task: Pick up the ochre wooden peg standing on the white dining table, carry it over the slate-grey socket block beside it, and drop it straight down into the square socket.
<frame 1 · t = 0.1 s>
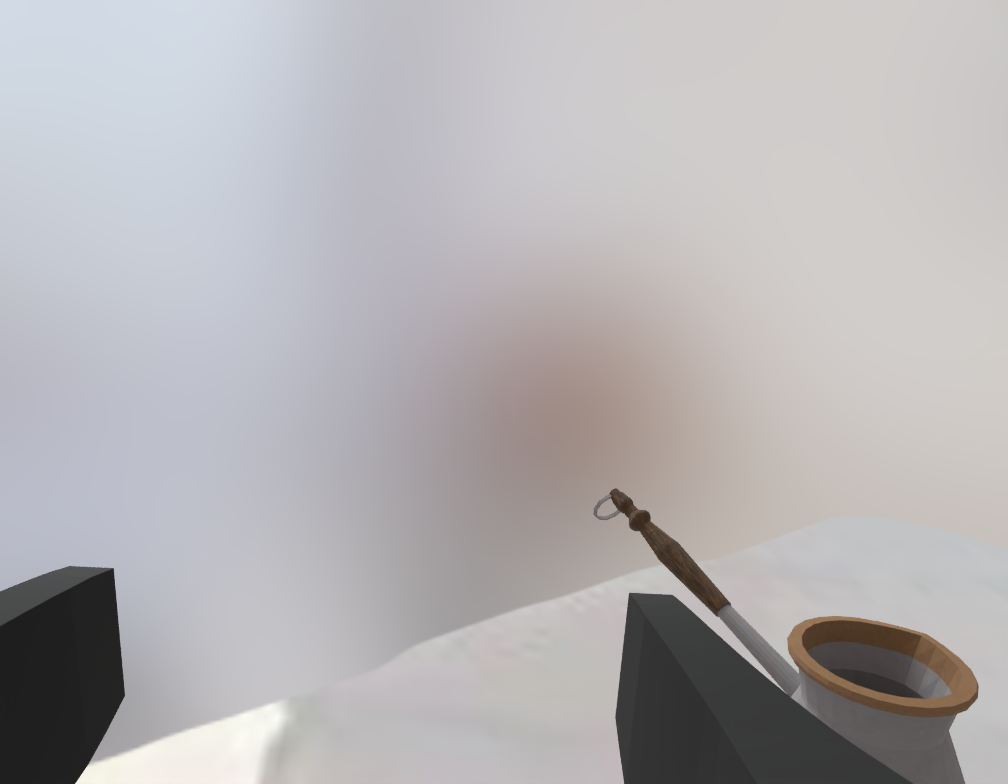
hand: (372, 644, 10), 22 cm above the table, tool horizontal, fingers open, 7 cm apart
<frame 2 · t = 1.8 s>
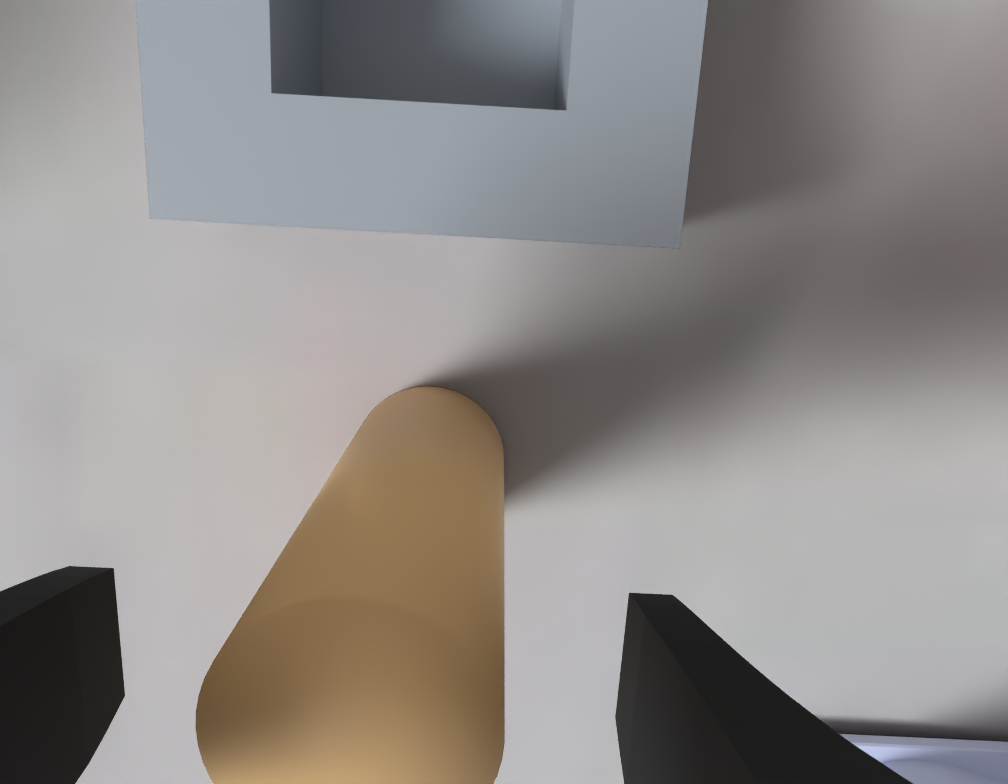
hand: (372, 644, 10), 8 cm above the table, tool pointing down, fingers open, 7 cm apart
peg: (429, 458, 18), on the table
socket block: (443, 2, 15), on the table
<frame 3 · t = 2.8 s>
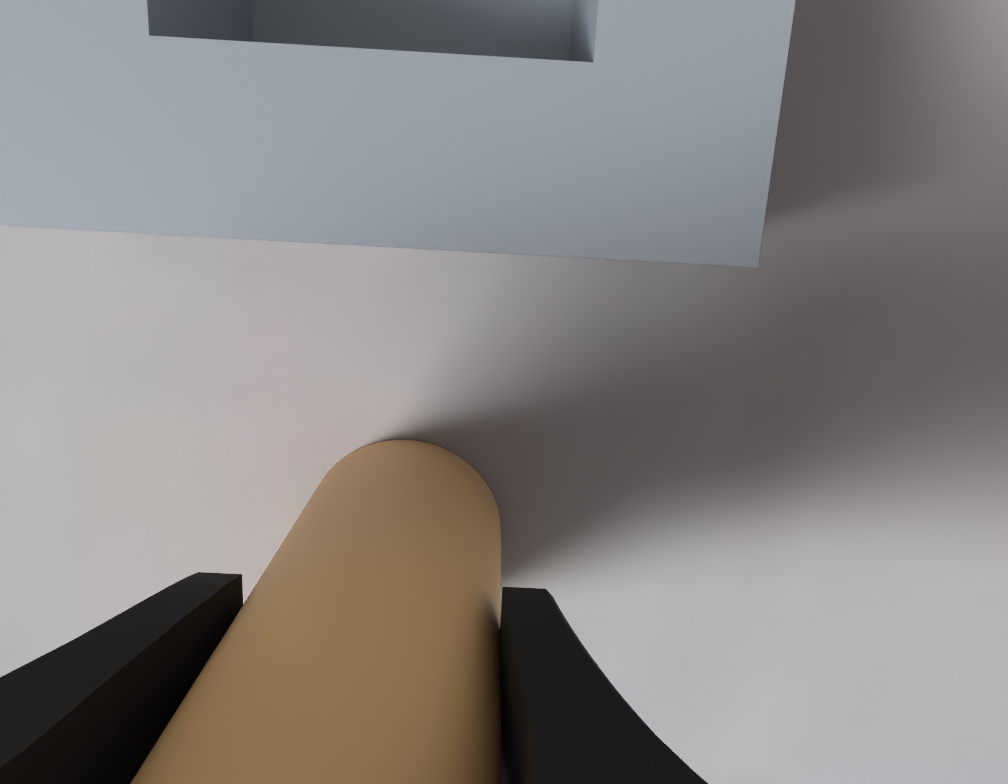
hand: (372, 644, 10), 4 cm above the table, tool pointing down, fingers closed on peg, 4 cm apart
peg: (405, 530, 14), on the table, touching gripper
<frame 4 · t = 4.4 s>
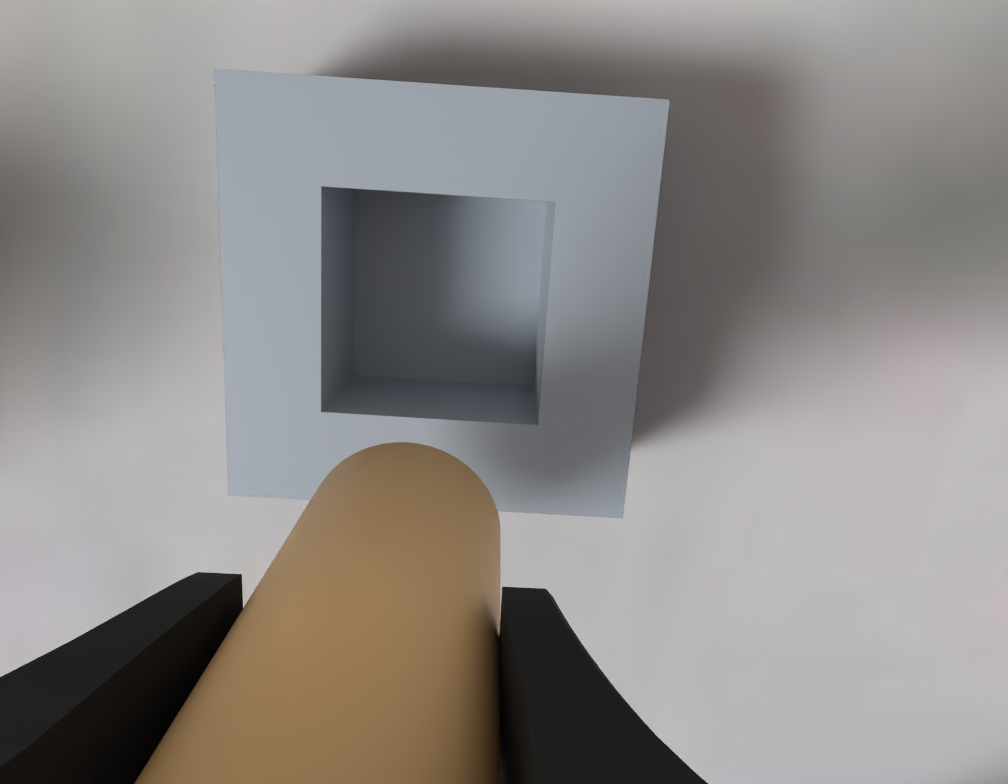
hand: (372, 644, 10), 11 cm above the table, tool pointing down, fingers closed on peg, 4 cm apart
peg: (404, 533, 14), point 7 cm above the table, touching gripper
socket block: (447, 288, 20), on the table
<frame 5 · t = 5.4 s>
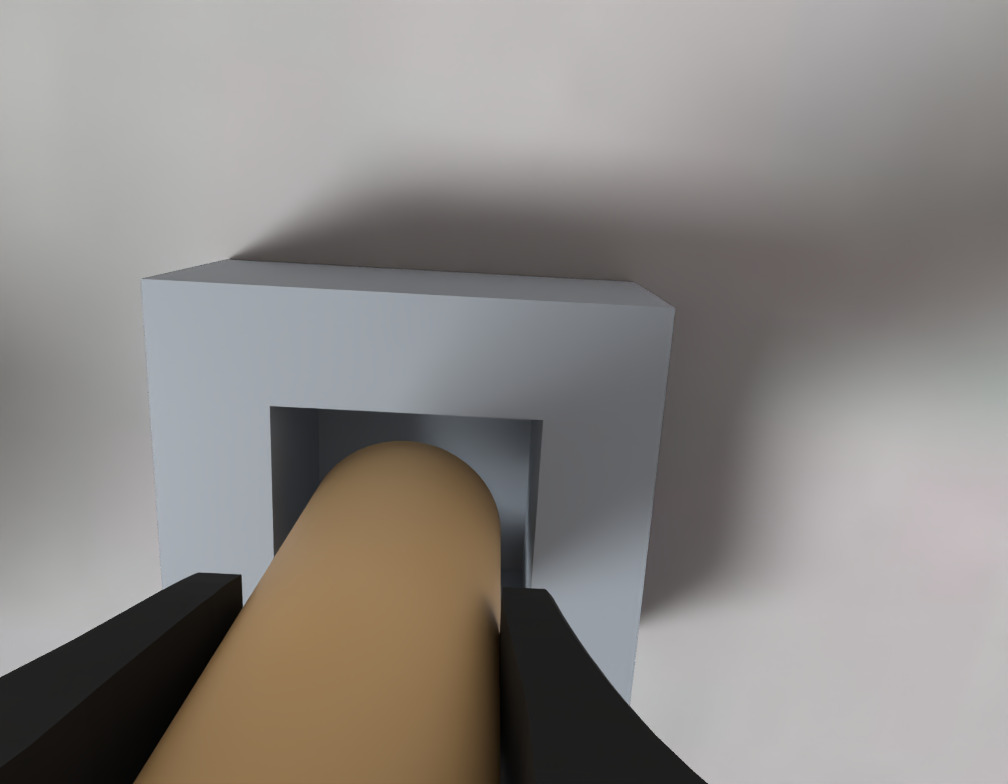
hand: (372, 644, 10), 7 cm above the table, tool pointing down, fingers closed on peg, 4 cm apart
peg: (404, 531, 14), point 4 cm above the table, touching gripper
socket block: (425, 462, 17), on the table
when the fingers open (5 cm above the table, at t = 6.3 s): peg stays where it is, resting on socket block.
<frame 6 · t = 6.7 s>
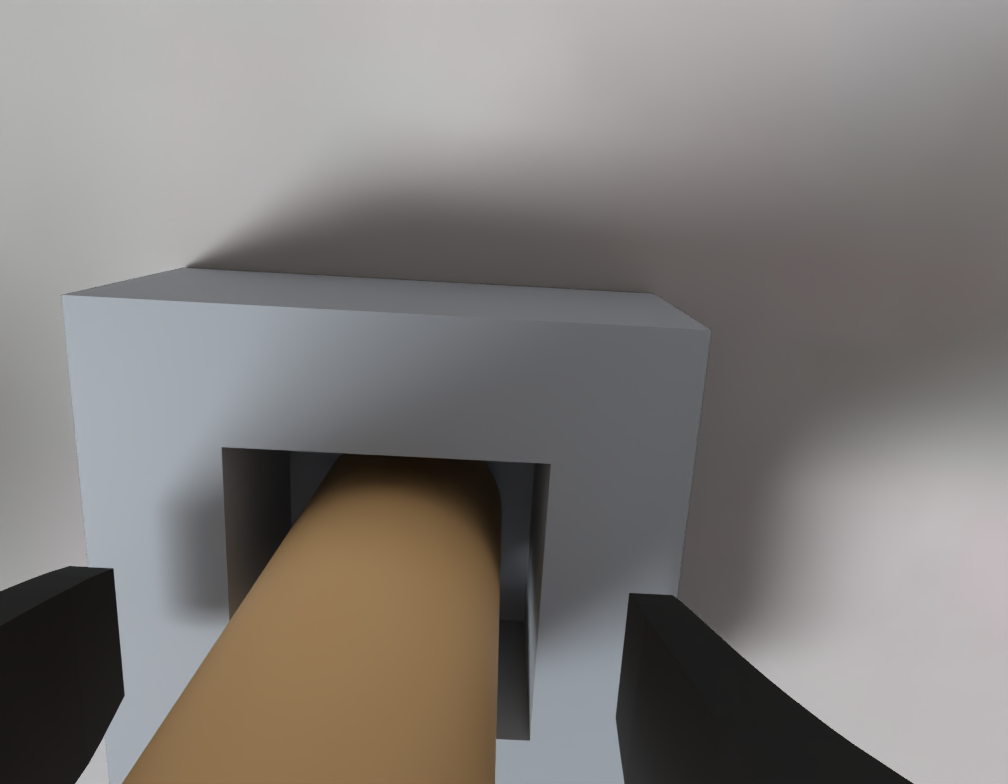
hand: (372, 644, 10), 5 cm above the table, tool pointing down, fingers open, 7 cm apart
peg: (411, 510, 15), point 1 cm above the table, touching socket block
socket block: (414, 499, 15), on the table
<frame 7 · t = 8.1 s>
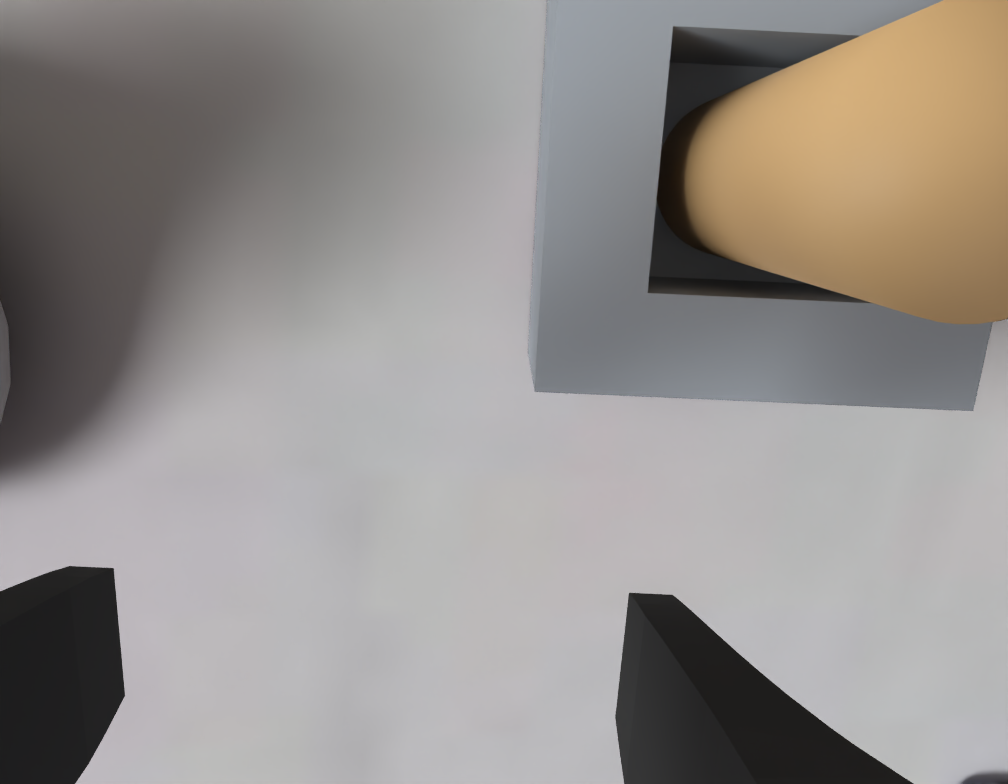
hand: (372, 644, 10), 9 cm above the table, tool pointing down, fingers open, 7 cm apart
peg: (731, 177, 17), point 1 cm above the table, touching socket block
socket block: (724, 177, 18), on the table
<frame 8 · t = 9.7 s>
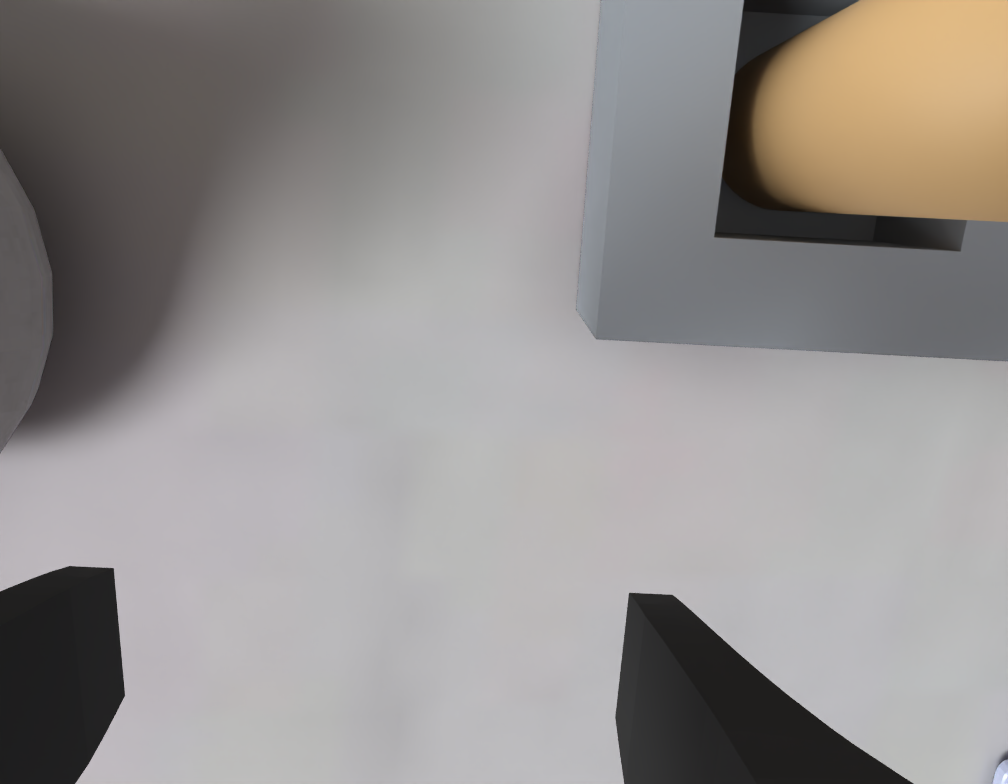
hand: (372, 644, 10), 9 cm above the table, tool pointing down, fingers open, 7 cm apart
peg: (789, 130, 17), point 1 cm above the table, touching socket block
socket block: (780, 131, 17), on the table
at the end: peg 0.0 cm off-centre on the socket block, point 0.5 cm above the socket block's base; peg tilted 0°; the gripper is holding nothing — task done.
